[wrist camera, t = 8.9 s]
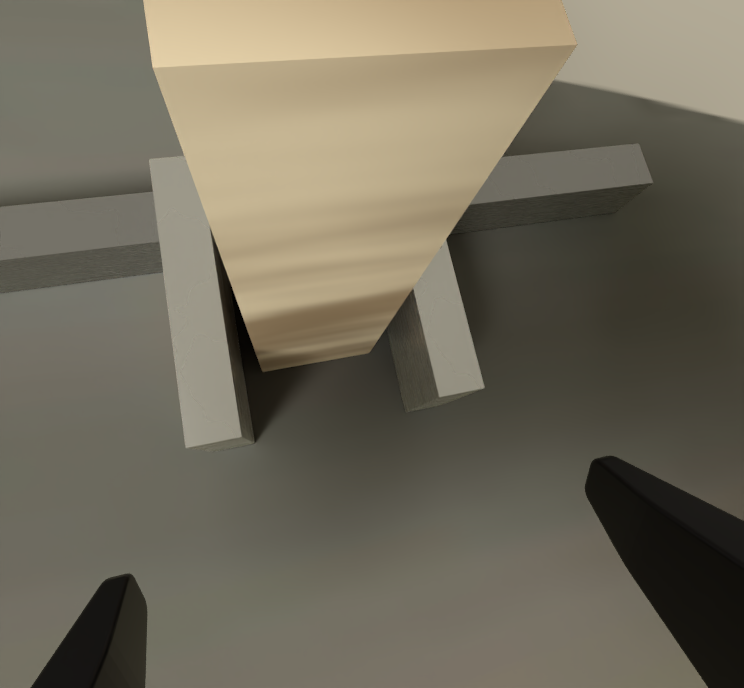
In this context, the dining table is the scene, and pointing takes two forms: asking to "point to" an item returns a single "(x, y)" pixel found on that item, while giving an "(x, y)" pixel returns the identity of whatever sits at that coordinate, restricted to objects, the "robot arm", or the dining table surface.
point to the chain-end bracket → (212, 286)
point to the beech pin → (344, 144)
